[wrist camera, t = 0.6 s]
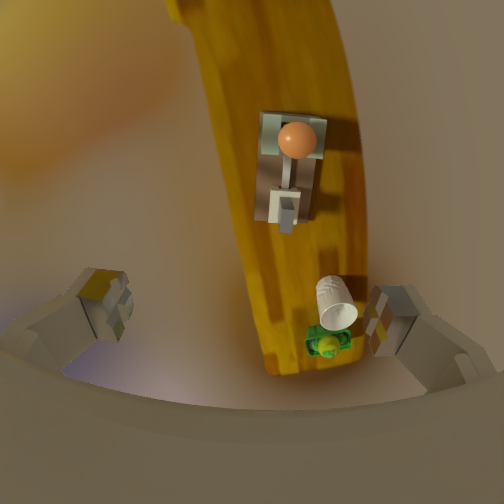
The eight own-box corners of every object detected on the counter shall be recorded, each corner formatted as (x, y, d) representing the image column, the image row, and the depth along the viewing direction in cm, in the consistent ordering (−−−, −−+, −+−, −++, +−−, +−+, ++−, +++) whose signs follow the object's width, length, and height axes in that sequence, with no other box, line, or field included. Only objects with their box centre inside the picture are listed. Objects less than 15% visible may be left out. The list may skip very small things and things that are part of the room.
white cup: (351, 288, 62) (363, 319, 53) (323, 304, 64) (330, 335, 56) (337, 266, 58) (348, 296, 50) (306, 283, 61) (313, 315, 53)
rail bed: (259, 110, 42) (260, 113, 35) (318, 116, 42) (330, 120, 35) (254, 216, 53) (253, 238, 46) (306, 220, 53) (313, 242, 46)
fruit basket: (306, 343, 72) (311, 376, 62) (301, 321, 68) (306, 357, 58) (347, 333, 70) (356, 366, 60) (345, 311, 66) (356, 346, 56)
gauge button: (277, 118, 35) (279, 120, 32) (312, 121, 35) (318, 124, 32) (275, 151, 38) (277, 157, 35) (309, 154, 38) (314, 160, 35)
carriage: (270, 185, 48) (272, 202, 41) (298, 187, 48) (305, 204, 41) (268, 216, 51) (269, 237, 44) (295, 218, 51) (300, 239, 44)
